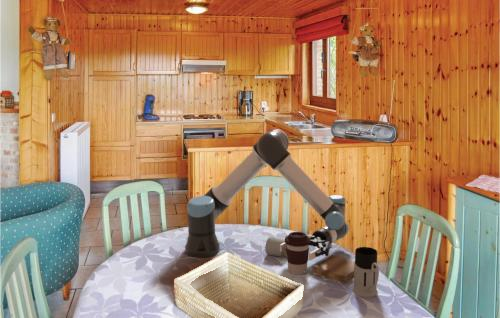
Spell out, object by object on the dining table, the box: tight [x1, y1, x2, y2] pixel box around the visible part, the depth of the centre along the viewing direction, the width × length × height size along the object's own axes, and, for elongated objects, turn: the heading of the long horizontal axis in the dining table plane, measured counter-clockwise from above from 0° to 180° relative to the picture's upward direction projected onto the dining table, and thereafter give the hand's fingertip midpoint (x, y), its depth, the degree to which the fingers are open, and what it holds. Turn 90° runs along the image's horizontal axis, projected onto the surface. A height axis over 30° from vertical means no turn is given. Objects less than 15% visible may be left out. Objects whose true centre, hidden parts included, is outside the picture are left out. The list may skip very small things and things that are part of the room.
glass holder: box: [351, 246, 380, 298], centre depth 152 cm, size 9×14×15 cm, turn 8°
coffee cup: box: [284, 231, 310, 275], centre depth 171 cm, size 10×10×15 cm
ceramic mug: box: [264, 236, 287, 258], centre depth 189 cm, size 11×8×8 cm
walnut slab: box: [312, 254, 355, 285], centre depth 170 cm, size 14×14×3 cm
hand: (294, 252), depth 169 cm, fingers open, 13 cm apart
